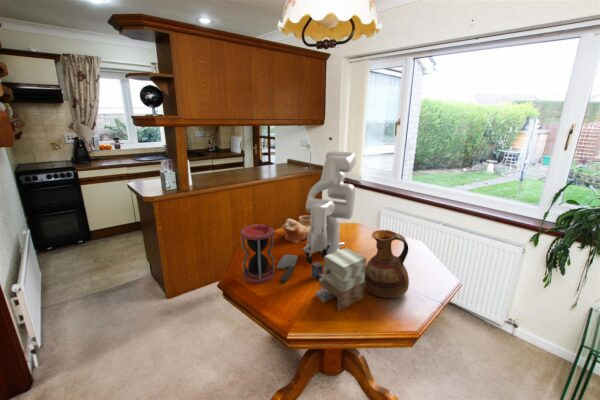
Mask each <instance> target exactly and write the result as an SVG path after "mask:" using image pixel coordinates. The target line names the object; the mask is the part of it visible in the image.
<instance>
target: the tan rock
mask: <svg viewBox="0 0 600 400" xmlns="http://www.w3.org/2000/svg"><path fill="white" fill-rule="evenodd" d="M310 223H311V215H300V216H298V221H297V220H295V219H292V218H286V220H285V223H284V224H283V225H282V229H283V230H284V231H285V233H286V234H285V236H284V239H285V240H287V241H288V242H291V243H293V244H299V243H300V242H303V241H307V237H308V233H309V231H310Z"/></svg>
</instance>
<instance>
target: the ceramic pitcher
mask: <svg viewBox="0 0 600 400" xmlns="http://www.w3.org/2000/svg"><path fill="white" fill-rule="evenodd" d="M371 237H372V238H373V239H374V240H375V241H376V245H375V246H376V249H377V251H376V254H375V255H373V256H372V257H371V258H370V259H369V261H368V262H366V270H365V282H366V288H365V289H367V291H368V292H369V293H371V294H373V296H377V297H379V298H391V299H392V298H394V299H395V298H399V297H400V296H402V295H403V296H404V294H406V293H407V291H408V290H409V286H410V285H409V284H410V279H409V273H408V270H407V267H406V266H405V265H404V262H405V260H406V258H407V256H408V254H409V244H408V242H407V240H406V239H405V237H404V236H403V235H401V234H400V233H397V232H395V231H393V230H389V229H386V230H385V229H379V230H378V229H377V230H375V231H373V232H372V233H371ZM393 241H400V242H402V243H403V249H402V251H401V253H400V255H399V256H396V255H394V254H393V252H392V242H393Z"/></svg>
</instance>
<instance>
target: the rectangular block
mask: <svg viewBox="0 0 600 400" xmlns="http://www.w3.org/2000/svg"><path fill="white" fill-rule="evenodd" d="M315 297H317V298H318V299H319V300H320V301H322V302H323V303H326V302H328V301H331V300H332V299H334V298H335V296H334V295H333V294H332V293H330V292H329V291H327V290H326V289H325V288H323V287H322V288H321V289H319V290H317V291H315Z"/></svg>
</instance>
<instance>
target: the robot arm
mask: <svg viewBox="0 0 600 400" xmlns="http://www.w3.org/2000/svg"><path fill="white" fill-rule="evenodd" d="M356 162H357V156H356V154H355V153H354V152H349V151H338V150H337V151H336V150H335V151H328V152H326V154H325V161H324V163H323V168H322V172H321V177H320V180H319V181H317V182H316V183H315V184H314V185H313V186H312V187H311V188H310V190H309V192H308V194H307V198H306V203H305V208H306V209H305V210H306V211H307V212H308V213H310V216H311V223H310V231H309V233H308V237H307V239H306V245H305V246H304V247H303V248H302V251H303V253H304V255H305V256H306V263H308V264H309V265H312V264H313V254H314V253H317V252H320V253H321V257H322V258H323V259H324V256H326V255H329V254H331V253H334V252H337V251H340V250H342V249H341V247H342V246H344V245H345V242H343V241H341V242H340V228H341V226H340V225H341V223H340V221H339V219H342V220H350V219H352V217H353V213H354V206H355V198H356V197H355V196H356V188H355V186H354V185H353V184H351V183H344V179H345V174H347V173H351V172H352V170H353V168H354V167H355V165H356ZM344 173H345V174H344ZM325 190H327V193H326V194H327V197H328V198H330V199H334V200H330V199H324V198H322V199H321V198H315V197H316V196H317V195H318V194H319V193H320V192H323V191H325ZM336 200H338V201H336ZM339 200H344V201H339Z"/></svg>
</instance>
